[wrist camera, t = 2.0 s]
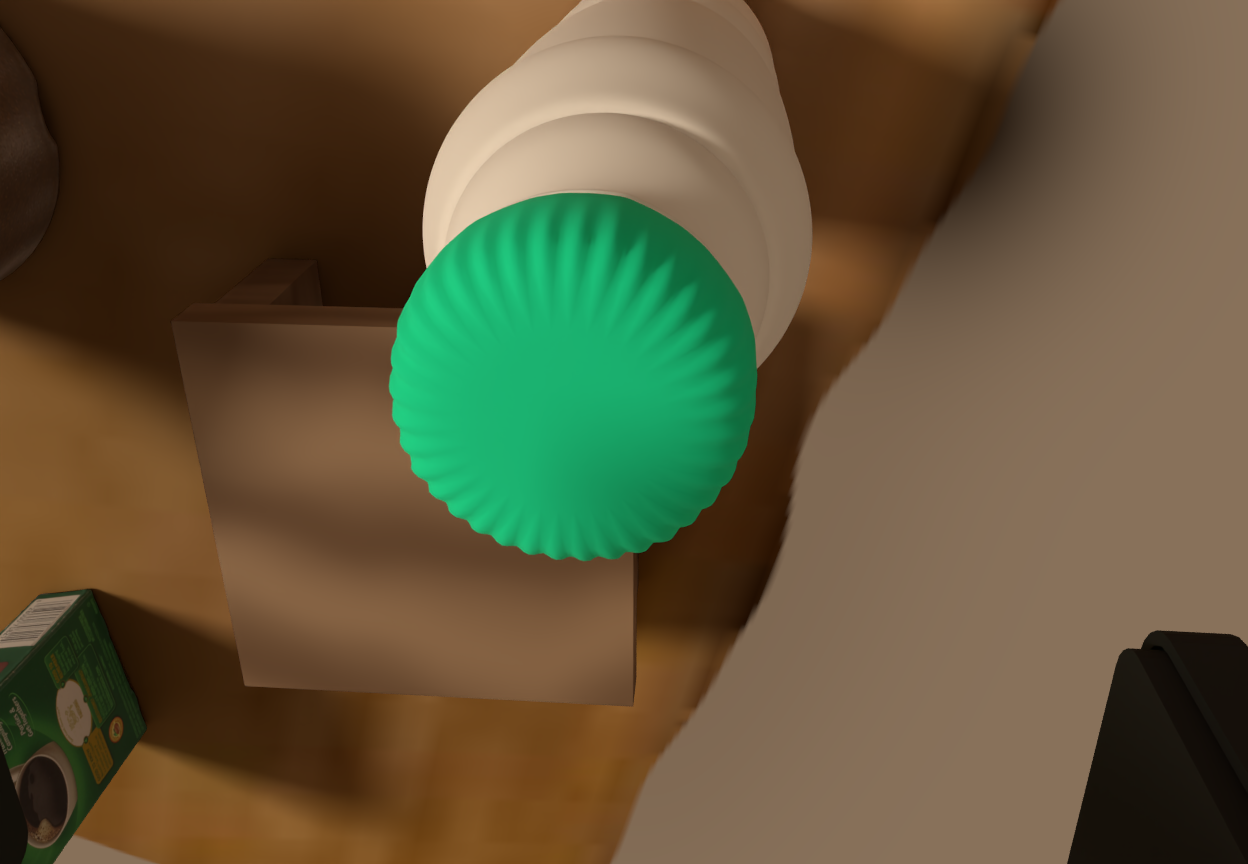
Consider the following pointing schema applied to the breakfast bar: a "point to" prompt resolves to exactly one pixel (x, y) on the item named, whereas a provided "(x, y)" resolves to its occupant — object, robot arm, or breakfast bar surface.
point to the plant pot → (23, 162)
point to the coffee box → (62, 715)
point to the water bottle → (603, 279)
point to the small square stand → (370, 523)
